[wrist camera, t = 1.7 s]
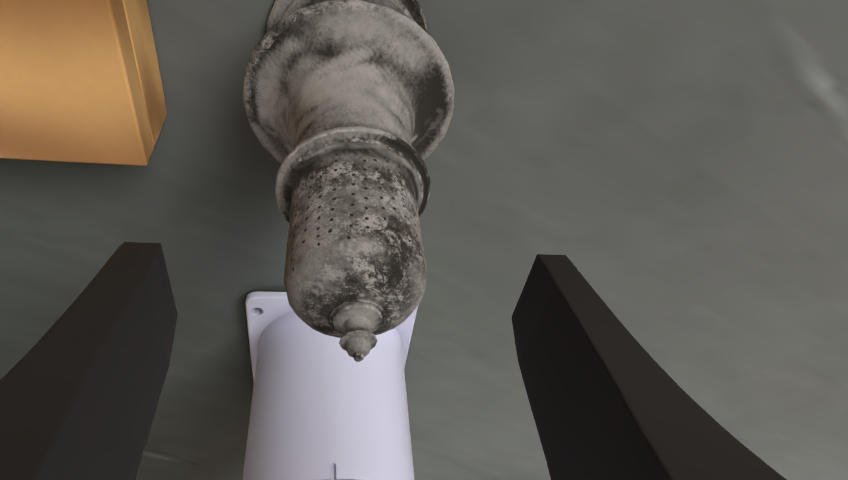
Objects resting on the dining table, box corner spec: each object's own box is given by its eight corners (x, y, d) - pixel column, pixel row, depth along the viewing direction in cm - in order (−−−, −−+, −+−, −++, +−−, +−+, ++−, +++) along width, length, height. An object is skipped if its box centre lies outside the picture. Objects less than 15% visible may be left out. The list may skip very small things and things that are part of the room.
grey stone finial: (215, 35, 18) (104, 362, 9) (357, -96, 16) (379, 174, 7) (343, 152, 21) (346, 464, 13) (473, 58, 19) (578, 359, 11)
